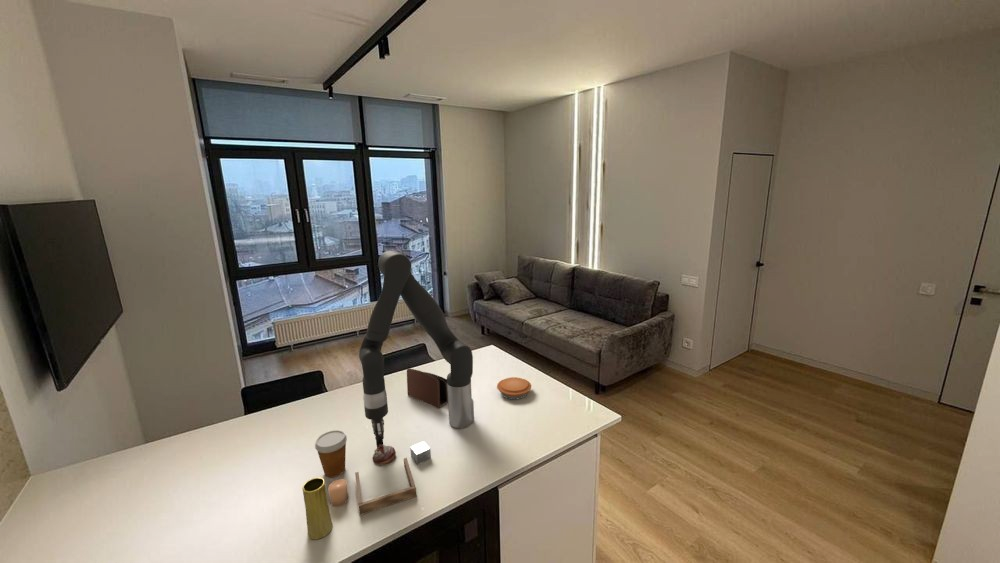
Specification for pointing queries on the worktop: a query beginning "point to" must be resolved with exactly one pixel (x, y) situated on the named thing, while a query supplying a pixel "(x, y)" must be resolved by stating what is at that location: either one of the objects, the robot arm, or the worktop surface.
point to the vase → (317, 508)
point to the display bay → (389, 498)
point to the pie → (514, 387)
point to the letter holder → (427, 387)
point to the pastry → (383, 455)
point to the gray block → (420, 452)
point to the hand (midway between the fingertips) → (380, 446)
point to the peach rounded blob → (338, 492)
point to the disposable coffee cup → (332, 452)
